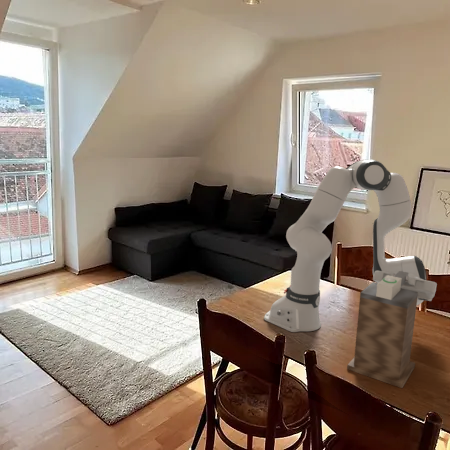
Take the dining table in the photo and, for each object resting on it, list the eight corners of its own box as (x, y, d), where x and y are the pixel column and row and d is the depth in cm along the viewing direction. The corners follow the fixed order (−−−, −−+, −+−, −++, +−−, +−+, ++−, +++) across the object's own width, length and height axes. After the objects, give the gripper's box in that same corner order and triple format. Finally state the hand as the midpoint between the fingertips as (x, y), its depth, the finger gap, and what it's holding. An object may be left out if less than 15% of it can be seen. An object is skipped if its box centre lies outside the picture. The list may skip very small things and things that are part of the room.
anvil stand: (347, 369, 138) (353, 292, 133) (363, 350, 150) (370, 279, 144) (402, 388, 129) (412, 306, 123) (414, 366, 140) (424, 291, 135)
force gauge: (376, 296, 130) (377, 282, 129) (396, 277, 147) (397, 265, 147) (391, 299, 128) (392, 285, 127) (410, 280, 145) (411, 267, 144)
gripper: (380, 272, 160) (371, 262, 149) (440, 284, 148) (435, 274, 137) (375, 288, 159) (366, 279, 148) (436, 302, 147) (431, 293, 136)
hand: (400, 277), depth 142 cm, fingers closed on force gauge, 3 cm apart
